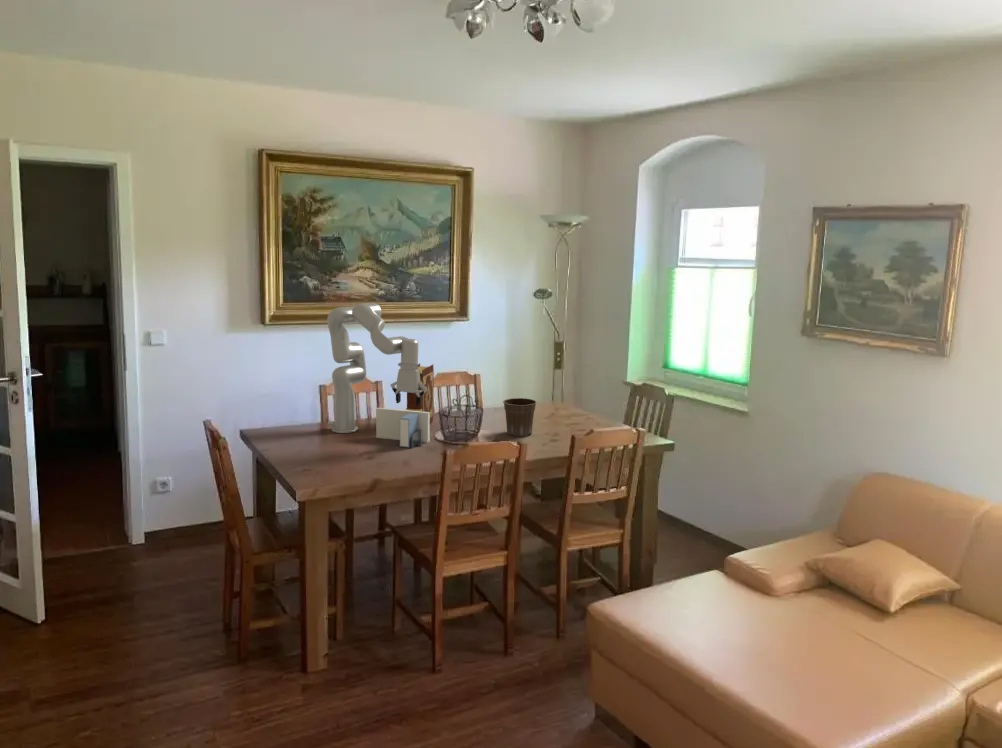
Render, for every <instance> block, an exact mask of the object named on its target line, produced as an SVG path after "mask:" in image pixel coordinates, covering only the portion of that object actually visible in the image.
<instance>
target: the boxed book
mask: <svg viewBox="0 0 1002 748" xmlns="http://www.w3.org/2000/svg"><path fill="white" fill-rule="evenodd" d="M416 431H418V414H410V413H409V414H407V415H405V416H403V417H401V418H400V440H399V445H400V446H401V447H400V448H405V447H410V446H412V434H413V433H414V432H416Z"/></svg>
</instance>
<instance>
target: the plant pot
mask: <svg viewBox="0 0 1002 748" xmlns="http://www.w3.org/2000/svg"><path fill="white" fill-rule="evenodd" d="M537 402H538V401H536V400H535V399H531V398H526V397H525V398H523V397H522V398H521V397H519V398H518V397H517V398H514V397H513V398H508V399H504V400H503V401H502V403H503V405H504V407H503V408H504V412H505V422H506V434H508V435H509V436H514V437H528V436H529V435H532V434H533V424H534V416H535V410H536V404H537Z"/></svg>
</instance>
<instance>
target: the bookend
mask: <svg viewBox="0 0 1002 748" xmlns="http://www.w3.org/2000/svg"><path fill="white" fill-rule="evenodd" d="M416 447H423V442H422V441H421V429H419V430H418V431H416V432H414V433H413V434H412V446H410V447H404V448H406V449H407V448H409V449H414V448H416ZM397 448H402V447H401V446H400V444H398V445H397Z"/></svg>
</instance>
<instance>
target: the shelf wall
mask: <svg viewBox="0 0 1002 748" xmlns="http://www.w3.org/2000/svg"><path fill="white" fill-rule="evenodd" d="M375 413H376V414H375V418H376V419H375V425H376V426H375V427H376V429H375V430H376V431H375V439H385V440H394V441H395V440H396V441H397V440H398V441H400V418H401V417H403V416H405V415H407V414H409V413H410V414H418V430H419V429H421V441H422V443H424V444H425V443H427V444H429V443H430V442H431V439H430V436H431V435H430V429H431V428H430V425H431V423H430V412H422V411H410V410H406V409H399V408H386V407H385V408H384V407H377V408H376V409H375Z"/></svg>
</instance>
